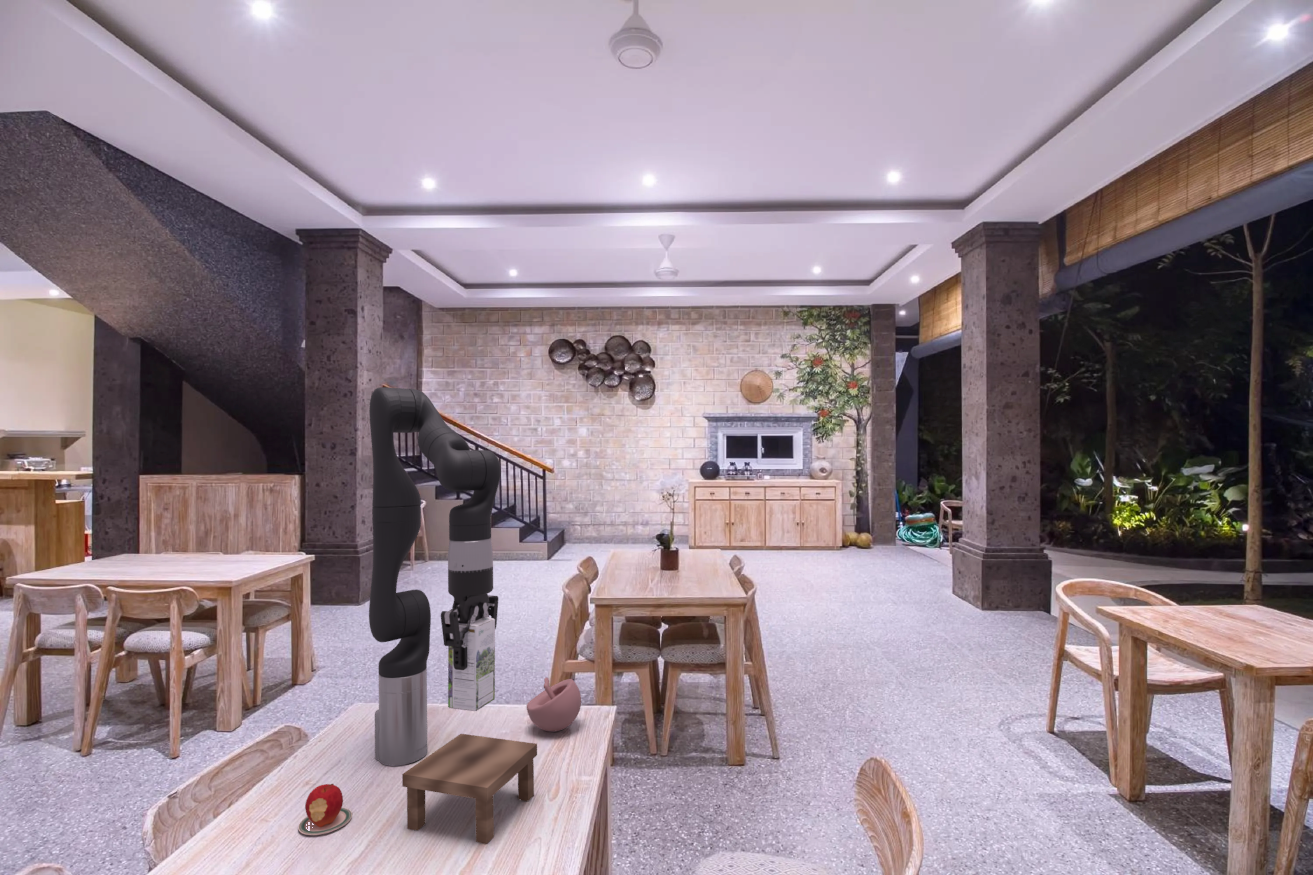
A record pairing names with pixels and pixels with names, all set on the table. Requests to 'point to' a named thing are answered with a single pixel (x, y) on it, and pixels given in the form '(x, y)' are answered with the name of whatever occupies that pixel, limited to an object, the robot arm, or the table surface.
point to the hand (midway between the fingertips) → (471, 662)
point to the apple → (324, 811)
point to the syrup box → (474, 668)
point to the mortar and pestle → (555, 706)
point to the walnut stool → (470, 777)
